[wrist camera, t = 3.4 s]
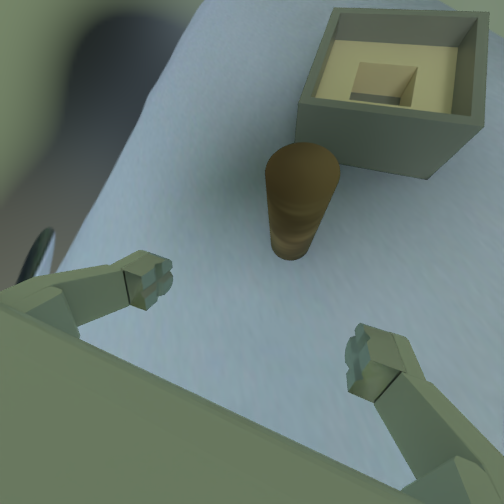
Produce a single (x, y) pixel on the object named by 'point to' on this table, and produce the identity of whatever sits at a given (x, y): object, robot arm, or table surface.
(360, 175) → the table surface
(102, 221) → the table surface
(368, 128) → the bore box
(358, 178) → the table surface
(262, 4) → the table surface
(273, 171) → the peg
